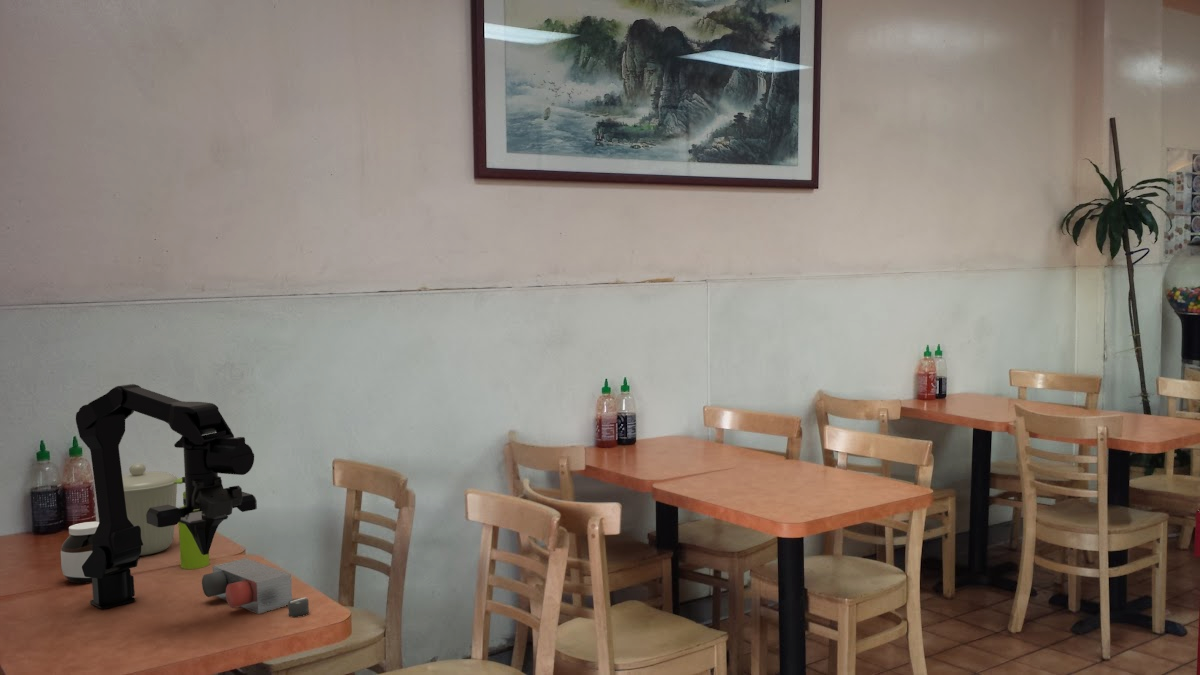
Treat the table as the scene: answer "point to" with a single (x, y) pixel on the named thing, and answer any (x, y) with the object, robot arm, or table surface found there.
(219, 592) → the black knob
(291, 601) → the dial
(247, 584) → the red knob
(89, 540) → the spread jar
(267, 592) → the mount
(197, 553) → the soap dispenser
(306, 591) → the table surface
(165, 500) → the canister
